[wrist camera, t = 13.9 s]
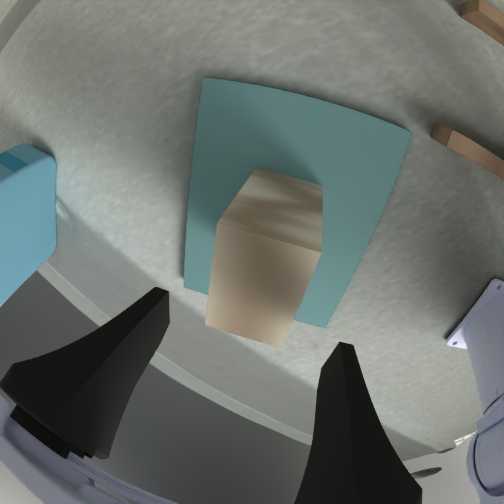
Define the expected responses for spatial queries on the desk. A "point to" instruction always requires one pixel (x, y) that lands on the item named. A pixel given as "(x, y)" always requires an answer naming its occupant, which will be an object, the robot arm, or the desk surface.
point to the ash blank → (265, 256)
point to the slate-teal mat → (294, 165)
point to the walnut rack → (500, 30)
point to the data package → (25, 215)
